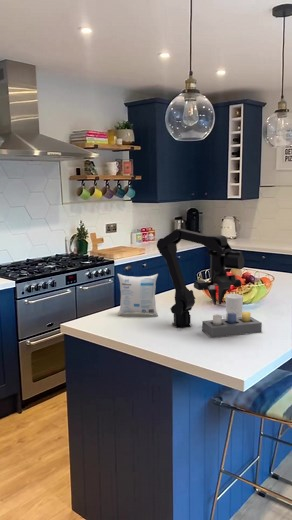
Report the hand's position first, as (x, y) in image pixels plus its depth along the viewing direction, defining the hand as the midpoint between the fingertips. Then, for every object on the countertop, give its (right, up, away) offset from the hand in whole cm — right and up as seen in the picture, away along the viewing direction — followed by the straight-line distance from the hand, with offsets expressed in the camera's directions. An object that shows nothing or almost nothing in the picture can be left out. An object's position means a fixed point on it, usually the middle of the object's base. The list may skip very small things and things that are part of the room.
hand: (217, 304), depth 185 cm
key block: (+6, -11, +4) cm, 14 cm away
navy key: (+6, -8, +3) cm, 11 cm away
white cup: (+11, -8, +23) cm, 27 cm away
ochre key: (+13, -8, +5) cm, 16 cm away
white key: (0, -9, +1) cm, 9 cm away
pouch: (-33, -8, +29) cm, 44 cm away
